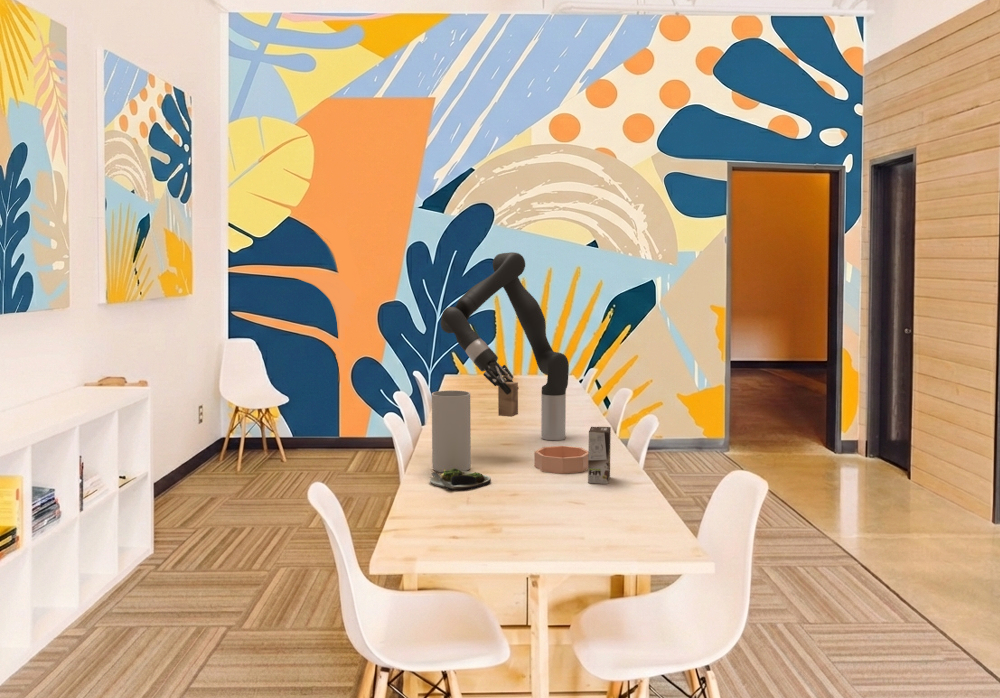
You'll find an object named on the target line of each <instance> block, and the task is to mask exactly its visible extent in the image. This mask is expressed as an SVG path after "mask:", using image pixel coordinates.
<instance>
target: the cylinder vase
mask: <svg viewBox="0 0 1000 698" xmlns="http://www.w3.org/2000/svg"><path fill="white" fill-rule="evenodd" d="M471 422H472V421H471V392H469V391H466V390H454V389H453V390H452V389H451V390H439V391H434V392H432V393H431V443H432V444H431V449H432V451H431V453H432V454H431V458H432V459H431V460H432V461H431V465H432V467H431V468H432V469H433V470H434V472H436V473H441V474H443V473H444V469H445V470H446V471H447V470H451V469H453V468H454V469H459V470H460V471H469V470H471V467H472V465H471V464H472V461H471V459H472V457H471V456H472V455H471V454H472V453H471V452H472V450H471V448H472V447H471V444H472V443H471V441H472V440H471V439H472V437H471V436H472V435H471V431H472V430H471Z"/></svg>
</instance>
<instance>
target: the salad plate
mask: <svg viewBox="0 0 1000 698" xmlns="http://www.w3.org/2000/svg"><path fill="white" fill-rule="evenodd" d="M431 476H432V477H431V478H429V483H431V484H433V485H434V486H436V487H439V488H442V489H446V490H449V491H456V492H457V491H459V492H461V491H463V492H465V491H470V490H476V489H479V488H483V487H486V486H488V485H489V484H490V483H491V482H492V480H491V477H490V476H489V475H486V474H483V473H480V472H476V471H475V472H472V471H469V470H467V471H460V470H459V469H454V468H453V469H451V470H447V471H446V470H445V469H444V473H441V474H438V472H437V471H434V472H432V473H431Z"/></svg>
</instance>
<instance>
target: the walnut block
mask: <svg viewBox="0 0 1000 698" xmlns="http://www.w3.org/2000/svg"><path fill="white" fill-rule="evenodd" d="M504 383H506V384H507V385H508V386H509V388H510V389H511V390H512V391H511V392H510V393H509V394H508V395H507V394H506V393H505V392H504V391H503V390H502V389H501V387H498V386H497V395H498V397H497V398H498V402H497V405H498V406H497V407H498V416H500V417H511V418H512V417H514V416H518V415H519V389H518V388H519V382H517V381H513V382H504Z"/></svg>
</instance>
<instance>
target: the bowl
mask: <svg viewBox="0 0 1000 698" xmlns="http://www.w3.org/2000/svg"><path fill="white" fill-rule="evenodd" d="M588 451H589V450H588V449H585V448H584V447H579V446H578V447H577V446H569V445H556V446H555V445H554V446H543V447H541V448H539V449H537V450H534V453H533V454H534V462H533V463H534V467H535V468H536V467H537V468H536V469H538V470H539V469H540V471H541V472H545V473H552V474H553V473H554V474H560V475H561V474H562V475H563V474H576V473H577V472H578V473H583V471H584V472H585V471H587V470H588ZM586 469H587V470H586Z"/></svg>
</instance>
